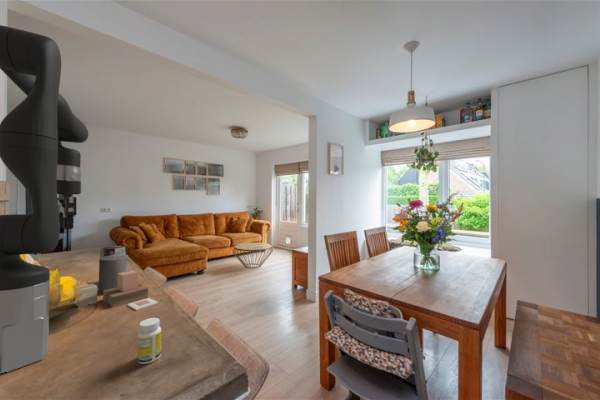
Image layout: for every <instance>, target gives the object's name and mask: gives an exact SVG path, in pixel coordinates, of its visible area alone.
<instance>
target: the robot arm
mask: <svg viewBox="0 0 600 400" xmlns="http://www.w3.org/2000/svg"><path fill="white" fill-rule="evenodd" d="M0 70H1V71H2V72H3V74H4V75H6V76H7V77H8V78H9V79H10V81H12V83H14V85H16V87H18V89H20V90H21V91H22V92H23V93H24V94H25V95H26V97H25V98H24V99H23V100H22V101H21V102H20V103H19V104H18V105H16V107H14V108H13V109H12V110H11V111H9V112H8V114H7V115H6V116H5V117H3V119H2V120H1V122H0V159H1V161H2V163H3V164H4V166H6V168H7V169H8V170H9V171H10V172H11V174H12V175H13V176H14V177H15V178H16V179H17V180H18V181H19V182H20V184H21V185H22V187H24V189H25V190H26V192H27V194H28V195H29V197H30V201H31V205H32V213H31V214H30V213H29V214H27V213H24V214H22V213H21V214H18V213H16V214H0V372H1V373H4V372H7V373H9V372H12V371H14V370H17V369H19V368H24V367H25V366H27V365H31V364H34V363H36V362H39V361H41V360H44V357H45V356H46V355H47V354H48V352H49V336H50V332H49V330H50V329H49V328H50V287H51V286H50V285H51V284H50V282H51V280H50V279H51V271H50V269H49V268H48V267H46V266H42V265H38V264H37V265H36V264H34V263H30V262H28V261H26V260H24V259H22V257H21V255H31V254H33V255H36V254H37V255H38V254H47V253H50V252H53V251H54V250H55V249H56V247H57V246H58V244H59V241H60V236H61V228H62V229H64V230H72V229H74V218H75V217H76V216H77V213H78V212H77V200H78V199H77V196H74V195H80V194H81V193H82V172H81V156H82V155H81V153H80V151H79V150H77V149H74V148H70V147H66V146H63V144H62V142H65V143H74V144H81V143H84V142H86V141H87V140H88V138H89V131H88V129H87V126H86V125H85V123H83V121H82V120H81V119H80V118H78V117H77V116H76V115H75V114H74V113H73V111H72V109H71V107H70V104H69V103H68V102H67V100H66V99H65V97H64V96H62V94H61V93H60V83H61V76H62V75H61V73H62V55H61V51H60V48H59V45H58V43H56V41H55V40H53V38H51V37H49V36H45V35H42V34H39V33H35V32H31V31H27V30H24V29H19V28H16V27H15V28H14V27H10V26H6V25H2V24H1V25H0ZM4 374H5V373H4Z"/></svg>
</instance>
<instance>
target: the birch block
mask: <svg viewBox="0 0 600 400" xmlns="http://www.w3.org/2000/svg"><path fill="white" fill-rule="evenodd" d="M78 290H79V291H80V292H84V293H83V294H82V296H81V297H80V298H79V300H78V301H77V303H76V305H77V306H78V307H77V306H76V305H75V306H76V307H77V308H79V307H80V308H83V307H86V306H85V305H87V306H89V305H88V304H91V305H93V304H92V303H94V304H97V303H98V285H97V284H94V283H90V284H86V285H85V284H84V285H81V286H80V288H79V289H78ZM96 302H97V303H96ZM82 306H83V307H82Z"/></svg>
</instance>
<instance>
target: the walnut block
mask: <svg viewBox="0 0 600 400" xmlns="http://www.w3.org/2000/svg"><path fill="white" fill-rule="evenodd" d="M102 296H103V297H102V300H103V301H104V302H105V301H106V302H107V303H108V304H107V303H106V302H105V303H106V304H107V305H109V306H110V307H111V308H112V307H113V308H117V307H120V306H124V305H127V304H130V303H131V302H132V303H133V302H136V301H140V300H143V299H147V298H149V288H148V287H146V286H144V285H142V284H140V283H138V288H136V289H132V290H128V291H124V292H122V291H120V290H118V287H116V288H112V289H107V290H103V294H102Z"/></svg>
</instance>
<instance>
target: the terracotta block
mask: <svg viewBox="0 0 600 400" xmlns="http://www.w3.org/2000/svg"><path fill="white" fill-rule="evenodd" d="M138 284H139V272H138V271H136V270H128V271H127V272H122V273H118V290H120V291H122V292H124V291H128V290H132V289H136V288H138Z"/></svg>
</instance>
